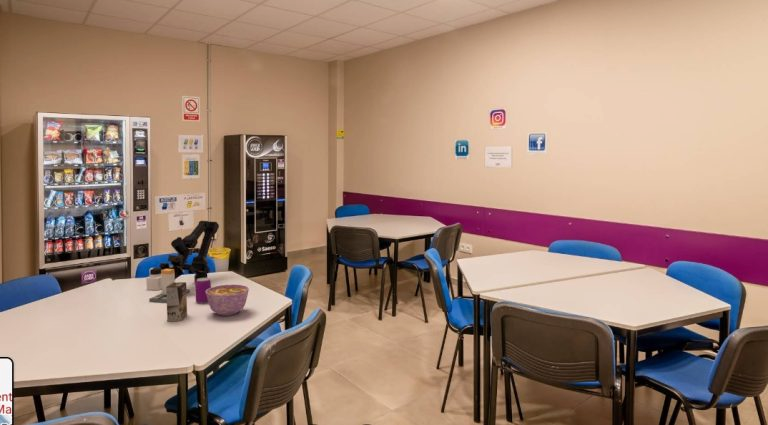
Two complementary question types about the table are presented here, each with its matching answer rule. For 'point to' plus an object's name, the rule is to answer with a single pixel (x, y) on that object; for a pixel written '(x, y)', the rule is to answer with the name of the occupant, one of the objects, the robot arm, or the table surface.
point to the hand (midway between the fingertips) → (170, 281)
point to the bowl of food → (227, 298)
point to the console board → (162, 298)
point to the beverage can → (202, 289)
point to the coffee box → (176, 301)
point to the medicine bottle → (154, 279)
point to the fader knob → (167, 279)
